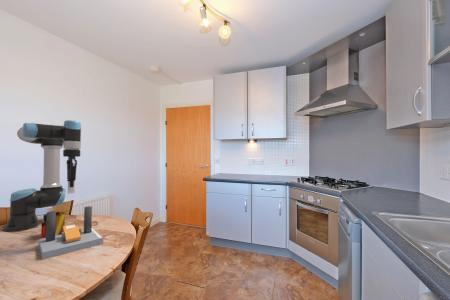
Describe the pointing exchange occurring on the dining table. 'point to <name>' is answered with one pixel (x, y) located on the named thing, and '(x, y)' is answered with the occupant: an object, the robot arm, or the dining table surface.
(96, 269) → the dining table surface
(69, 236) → the paddle
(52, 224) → the cylinder
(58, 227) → the mug
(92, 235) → the panel
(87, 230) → the post
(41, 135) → the robot arm
